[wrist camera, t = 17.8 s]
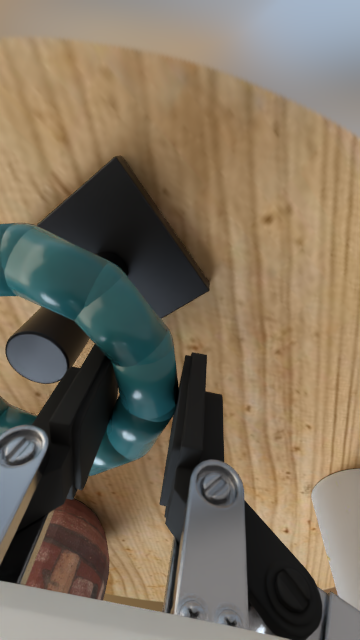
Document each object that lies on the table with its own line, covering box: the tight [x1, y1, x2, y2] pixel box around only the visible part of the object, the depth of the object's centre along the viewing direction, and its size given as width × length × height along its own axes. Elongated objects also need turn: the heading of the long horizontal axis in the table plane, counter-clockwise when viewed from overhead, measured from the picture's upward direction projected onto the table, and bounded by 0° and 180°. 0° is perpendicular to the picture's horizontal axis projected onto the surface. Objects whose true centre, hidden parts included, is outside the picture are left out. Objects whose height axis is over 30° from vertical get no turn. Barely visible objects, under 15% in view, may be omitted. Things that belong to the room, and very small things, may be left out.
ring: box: [0, 223, 179, 476], centre depth 11 cm, size 10×10×2 cm
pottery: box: [25, 499, 109, 601], centre depth 30 cm, size 18×18×18 cm
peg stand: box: [6, 156, 210, 384], centre depth 16 cm, size 9×9×10 cm
